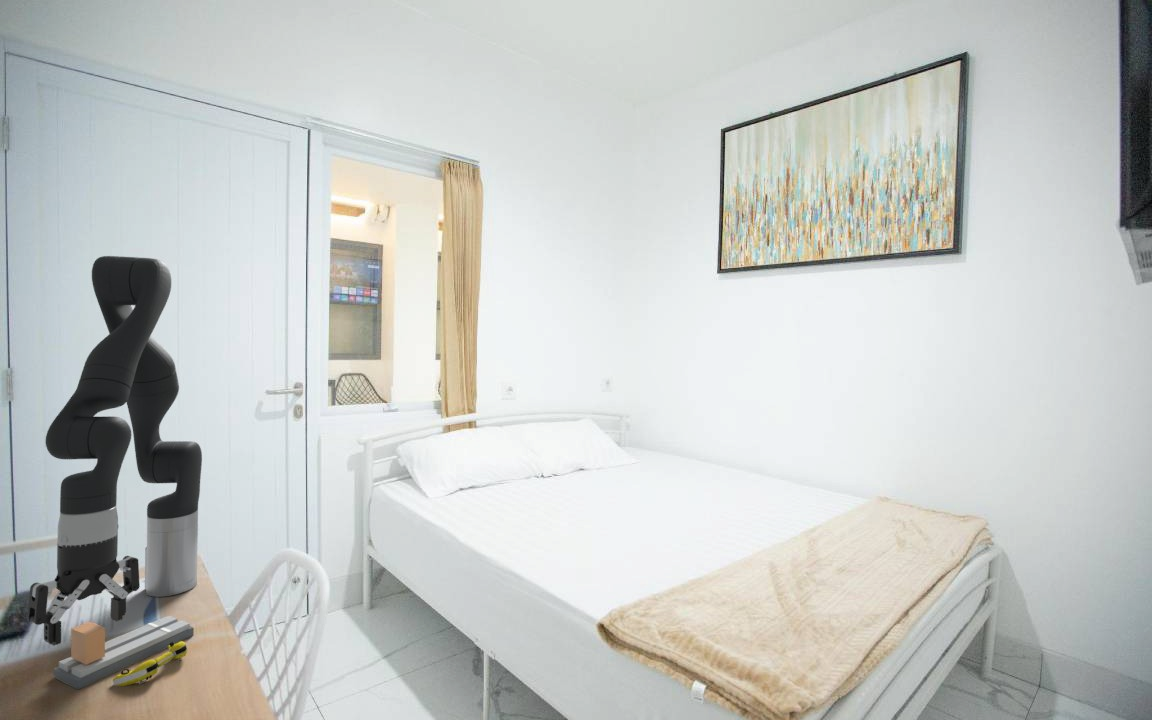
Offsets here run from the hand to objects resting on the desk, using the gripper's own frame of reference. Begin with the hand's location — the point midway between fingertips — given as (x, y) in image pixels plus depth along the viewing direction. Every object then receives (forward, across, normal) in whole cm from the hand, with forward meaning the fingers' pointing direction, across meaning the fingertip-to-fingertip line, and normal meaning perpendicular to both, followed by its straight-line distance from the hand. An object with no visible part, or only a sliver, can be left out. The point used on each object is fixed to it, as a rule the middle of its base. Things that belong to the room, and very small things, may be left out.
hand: (86, 631), depth 91 cm
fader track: (+7, -6, 0) cm, 10 cm away
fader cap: (+6, 0, 0) cm, 6 cm away
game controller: (+8, -6, +9) cm, 13 cm away
